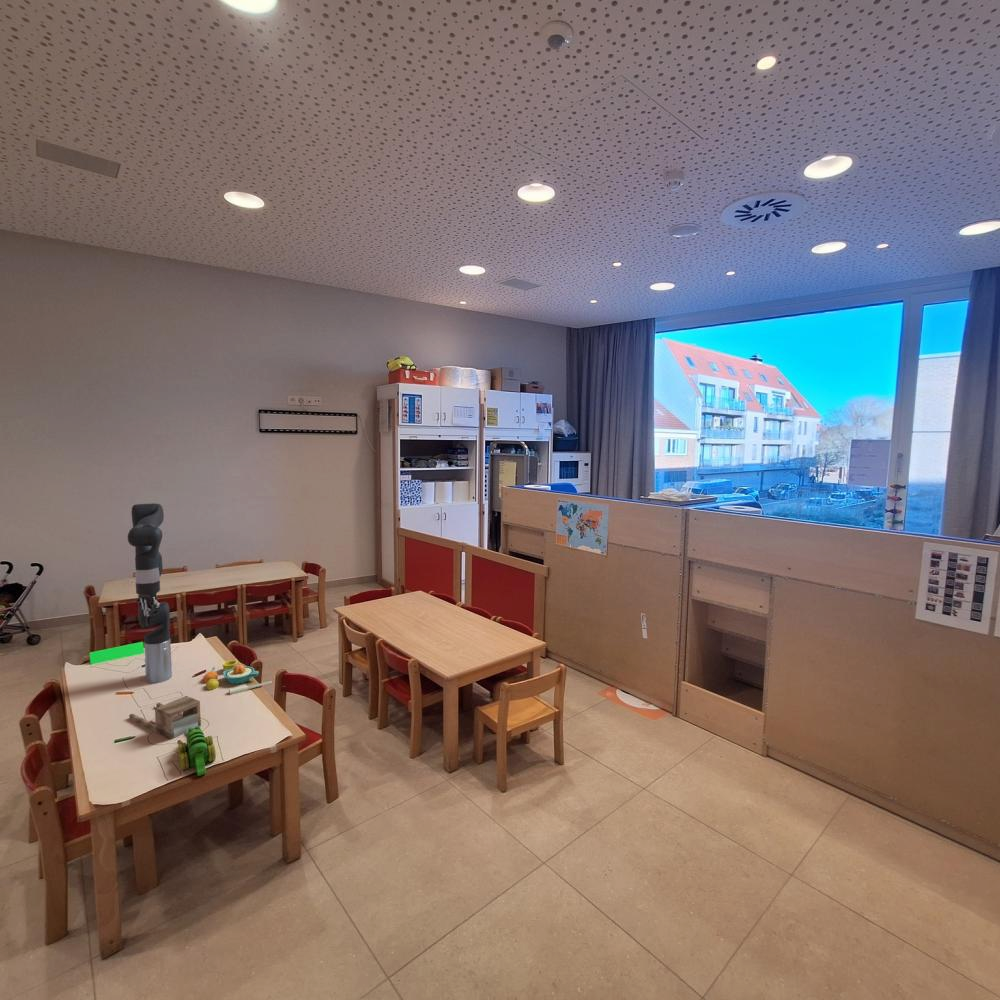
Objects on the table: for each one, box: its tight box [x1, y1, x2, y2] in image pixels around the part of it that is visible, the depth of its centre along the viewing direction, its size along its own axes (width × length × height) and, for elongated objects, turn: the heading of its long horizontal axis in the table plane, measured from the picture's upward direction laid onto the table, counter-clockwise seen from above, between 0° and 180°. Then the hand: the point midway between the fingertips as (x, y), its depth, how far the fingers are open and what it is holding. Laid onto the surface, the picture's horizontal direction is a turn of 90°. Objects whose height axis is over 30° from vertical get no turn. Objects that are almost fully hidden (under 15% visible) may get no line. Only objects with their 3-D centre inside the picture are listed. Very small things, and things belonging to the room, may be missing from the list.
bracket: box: [89, 641, 145, 665], centre depth 243 cm, size 20×10×7 cm, turn 132°
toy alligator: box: [178, 726, 217, 777], centre depth 172 cm, size 10×32×9 cm, turn 35°
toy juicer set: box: [202, 659, 273, 696], centre depth 221 cm, size 29×18×8 cm, turn 59°
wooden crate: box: [128, 695, 202, 740], centre depth 190 cm, size 26×10×9 cm, turn 62°
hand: (150, 625), depth 197 cm, fingers closed
